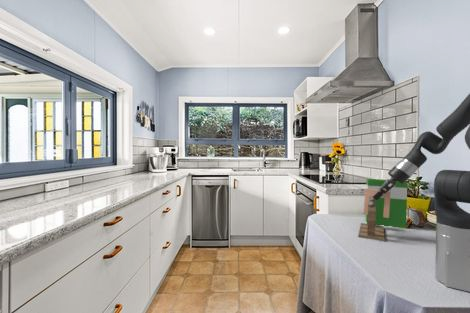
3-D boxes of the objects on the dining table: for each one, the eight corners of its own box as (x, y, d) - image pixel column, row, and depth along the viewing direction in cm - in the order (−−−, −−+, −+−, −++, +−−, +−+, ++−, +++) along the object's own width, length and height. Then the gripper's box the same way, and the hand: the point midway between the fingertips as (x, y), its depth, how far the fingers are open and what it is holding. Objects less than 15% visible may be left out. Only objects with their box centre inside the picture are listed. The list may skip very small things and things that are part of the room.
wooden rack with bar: (384, 241, 101) (385, 204, 101) (358, 236, 106) (359, 202, 106) (383, 228, 119) (383, 197, 119) (360, 225, 124) (361, 195, 124)
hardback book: (402, 224, 126) (403, 180, 126) (406, 228, 120) (407, 182, 119) (365, 220, 134) (366, 178, 133) (366, 223, 127) (367, 180, 127)
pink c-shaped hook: (388, 218, 105) (390, 191, 106) (363, 214, 110) (365, 188, 111) (388, 217, 108) (389, 191, 108) (363, 213, 113) (365, 188, 113)
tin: (425, 228, 120) (426, 212, 120) (419, 228, 121) (419, 212, 121) (410, 220, 135) (410, 206, 135) (404, 220, 136) (404, 205, 135)
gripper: (413, 176, 98) (383, 205, 102) (407, 176, 110) (380, 202, 114) (397, 164, 101) (367, 193, 105) (393, 166, 113) (367, 192, 117)
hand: (374, 198), depth 110 cm, fingers closed on pink c-shaped hook, 3 cm apart
